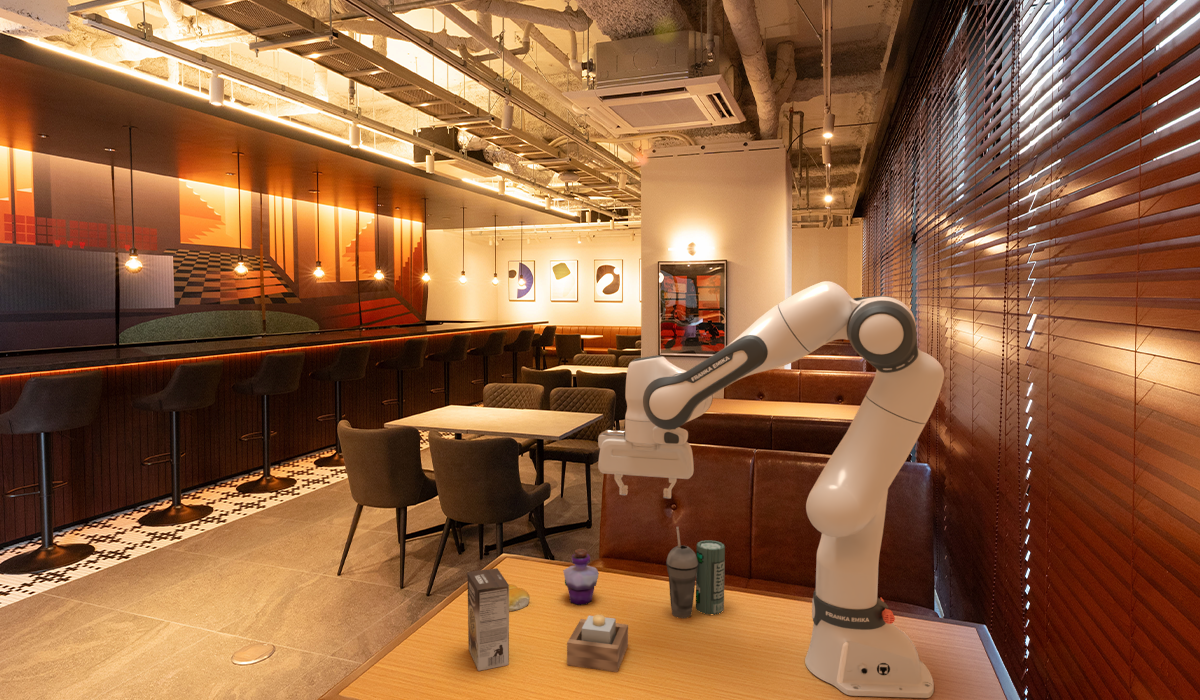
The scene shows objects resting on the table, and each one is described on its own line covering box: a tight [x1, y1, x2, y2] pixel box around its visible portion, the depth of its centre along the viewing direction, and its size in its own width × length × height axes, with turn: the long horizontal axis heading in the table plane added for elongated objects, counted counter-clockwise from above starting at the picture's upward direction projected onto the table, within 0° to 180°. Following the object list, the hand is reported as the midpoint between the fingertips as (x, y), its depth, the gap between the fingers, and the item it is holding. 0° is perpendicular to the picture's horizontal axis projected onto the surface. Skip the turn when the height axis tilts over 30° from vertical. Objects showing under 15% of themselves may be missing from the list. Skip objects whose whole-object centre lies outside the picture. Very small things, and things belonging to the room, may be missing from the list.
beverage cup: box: [665, 526, 698, 619], centre depth 148 cm, size 7×7×20 cm
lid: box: [582, 614, 617, 645], centre depth 130 cm, size 6×6×6 cm
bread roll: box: [508, 583, 531, 612], centre depth 154 cm, size 8×9×4 cm
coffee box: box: [466, 567, 510, 672], centre depth 129 cm, size 9×6×16 cm
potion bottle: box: [562, 548, 599, 606], centre depth 155 cm, size 9×9×12 cm
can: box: [695, 539, 726, 616], centre depth 151 cm, size 6×6×15 cm
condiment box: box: [566, 618, 629, 673], centre depth 131 cm, size 10×10×4 cm
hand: (645, 496), depth 140 cm, fingers open, 8 cm apart
